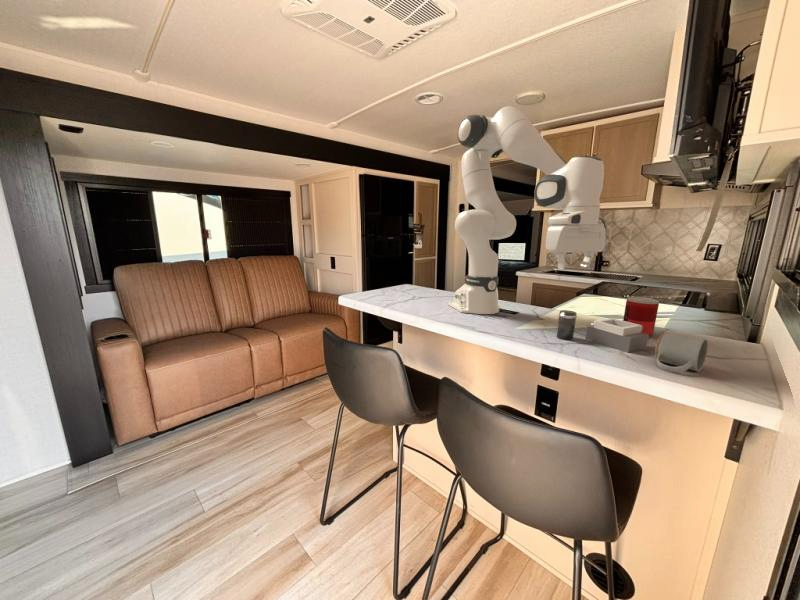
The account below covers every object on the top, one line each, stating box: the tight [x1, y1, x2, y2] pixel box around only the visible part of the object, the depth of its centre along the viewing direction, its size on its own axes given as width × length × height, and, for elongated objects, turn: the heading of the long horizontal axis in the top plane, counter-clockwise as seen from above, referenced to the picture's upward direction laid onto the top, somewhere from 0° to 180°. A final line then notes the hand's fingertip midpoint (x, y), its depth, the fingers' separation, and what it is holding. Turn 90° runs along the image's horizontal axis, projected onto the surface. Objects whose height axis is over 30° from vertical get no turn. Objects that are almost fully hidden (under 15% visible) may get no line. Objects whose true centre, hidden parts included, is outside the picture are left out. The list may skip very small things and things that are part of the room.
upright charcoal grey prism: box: [556, 309, 577, 341], centre depth 92 cm, size 5×5×8 cm
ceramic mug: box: [654, 332, 709, 373], centre depth 73 cm, size 11×8×8 cm
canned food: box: [622, 296, 660, 338], centre depth 97 cm, size 8×8×11 cm
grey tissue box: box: [585, 317, 649, 353], centre depth 88 cm, size 12×8×6 cm, turn 24°
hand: (573, 268), depth 89 cm, fingers open, 8 cm apart
